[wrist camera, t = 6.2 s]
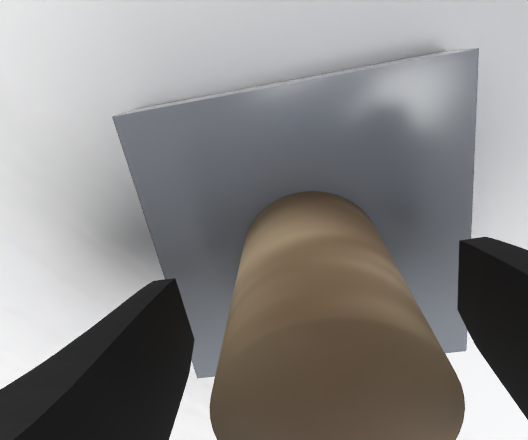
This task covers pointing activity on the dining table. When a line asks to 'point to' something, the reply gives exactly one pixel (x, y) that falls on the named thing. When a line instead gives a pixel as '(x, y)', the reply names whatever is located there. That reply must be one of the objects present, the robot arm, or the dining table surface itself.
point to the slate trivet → (312, 177)
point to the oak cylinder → (328, 336)
